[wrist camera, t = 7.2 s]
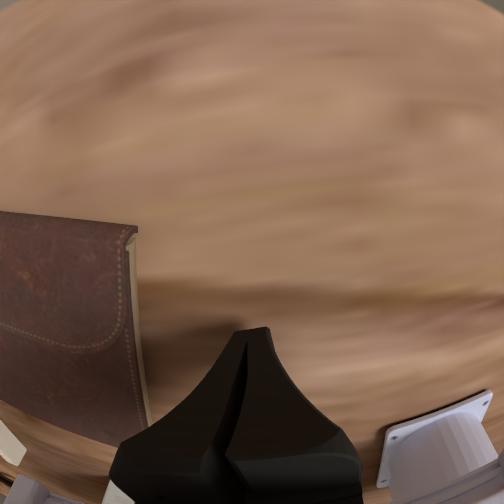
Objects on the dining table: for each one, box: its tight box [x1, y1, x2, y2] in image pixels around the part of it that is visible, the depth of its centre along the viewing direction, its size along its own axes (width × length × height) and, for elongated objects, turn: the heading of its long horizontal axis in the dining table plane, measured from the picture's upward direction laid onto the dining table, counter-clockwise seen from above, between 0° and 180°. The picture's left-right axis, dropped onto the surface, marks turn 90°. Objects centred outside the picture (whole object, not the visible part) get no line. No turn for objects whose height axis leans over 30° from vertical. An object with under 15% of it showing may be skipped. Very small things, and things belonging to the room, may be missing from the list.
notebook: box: [0, 211, 153, 448], centre depth 14 cm, size 15×20×2 cm
